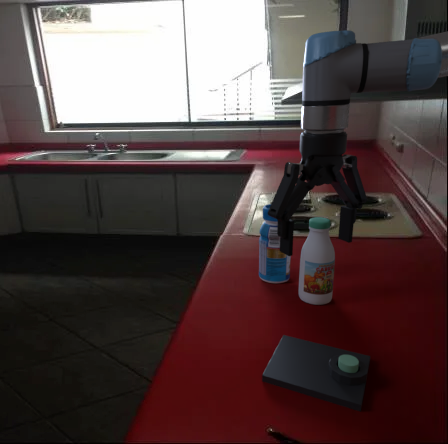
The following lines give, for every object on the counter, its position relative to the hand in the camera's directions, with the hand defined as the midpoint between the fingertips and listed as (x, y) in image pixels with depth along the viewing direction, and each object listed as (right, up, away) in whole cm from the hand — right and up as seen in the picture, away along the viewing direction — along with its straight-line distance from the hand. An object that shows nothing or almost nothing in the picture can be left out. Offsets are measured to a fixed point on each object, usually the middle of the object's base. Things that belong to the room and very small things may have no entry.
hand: (316, 246), depth 78 cm
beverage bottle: (+2, -11, +35) cm, 37 cm away
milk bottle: (+9, -14, +24) cm, 29 cm away
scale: (-1, -23, -2) cm, 23 cm away
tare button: (+4, -21, -5) cm, 22 cm away
